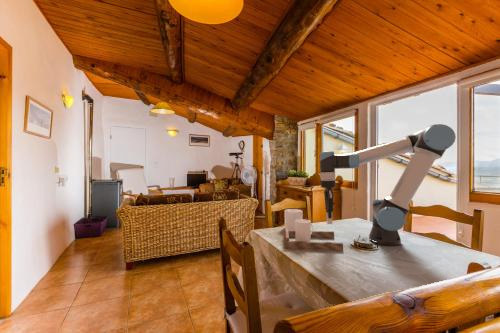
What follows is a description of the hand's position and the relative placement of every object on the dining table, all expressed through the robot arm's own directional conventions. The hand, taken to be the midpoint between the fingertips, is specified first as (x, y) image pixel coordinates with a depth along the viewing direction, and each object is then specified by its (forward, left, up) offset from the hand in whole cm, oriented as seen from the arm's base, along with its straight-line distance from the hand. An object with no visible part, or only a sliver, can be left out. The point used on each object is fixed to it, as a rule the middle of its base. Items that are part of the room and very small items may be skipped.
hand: (329, 223), depth 128 cm
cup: (+18, -27, -11) cm, 34 cm away
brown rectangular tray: (+10, 0, -11) cm, 14 cm away
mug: (+13, 0, -11) cm, 17 cm away
